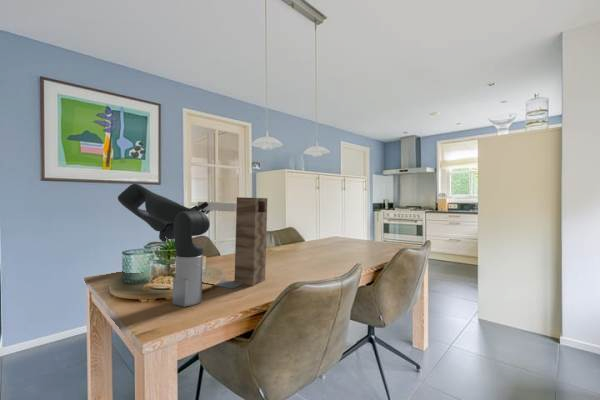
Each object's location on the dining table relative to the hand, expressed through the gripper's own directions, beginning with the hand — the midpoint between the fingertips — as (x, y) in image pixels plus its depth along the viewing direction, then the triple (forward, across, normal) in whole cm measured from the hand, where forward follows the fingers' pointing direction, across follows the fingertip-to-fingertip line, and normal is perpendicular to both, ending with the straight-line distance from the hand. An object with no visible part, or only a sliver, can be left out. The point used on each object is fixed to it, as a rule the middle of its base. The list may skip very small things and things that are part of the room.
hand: (210, 203), depth 138 cm
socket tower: (+4, 0, +42) cm, 43 cm away
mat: (-7, -9, +36) cm, 38 cm away
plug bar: (+3, 0, +5) cm, 6 cm away
